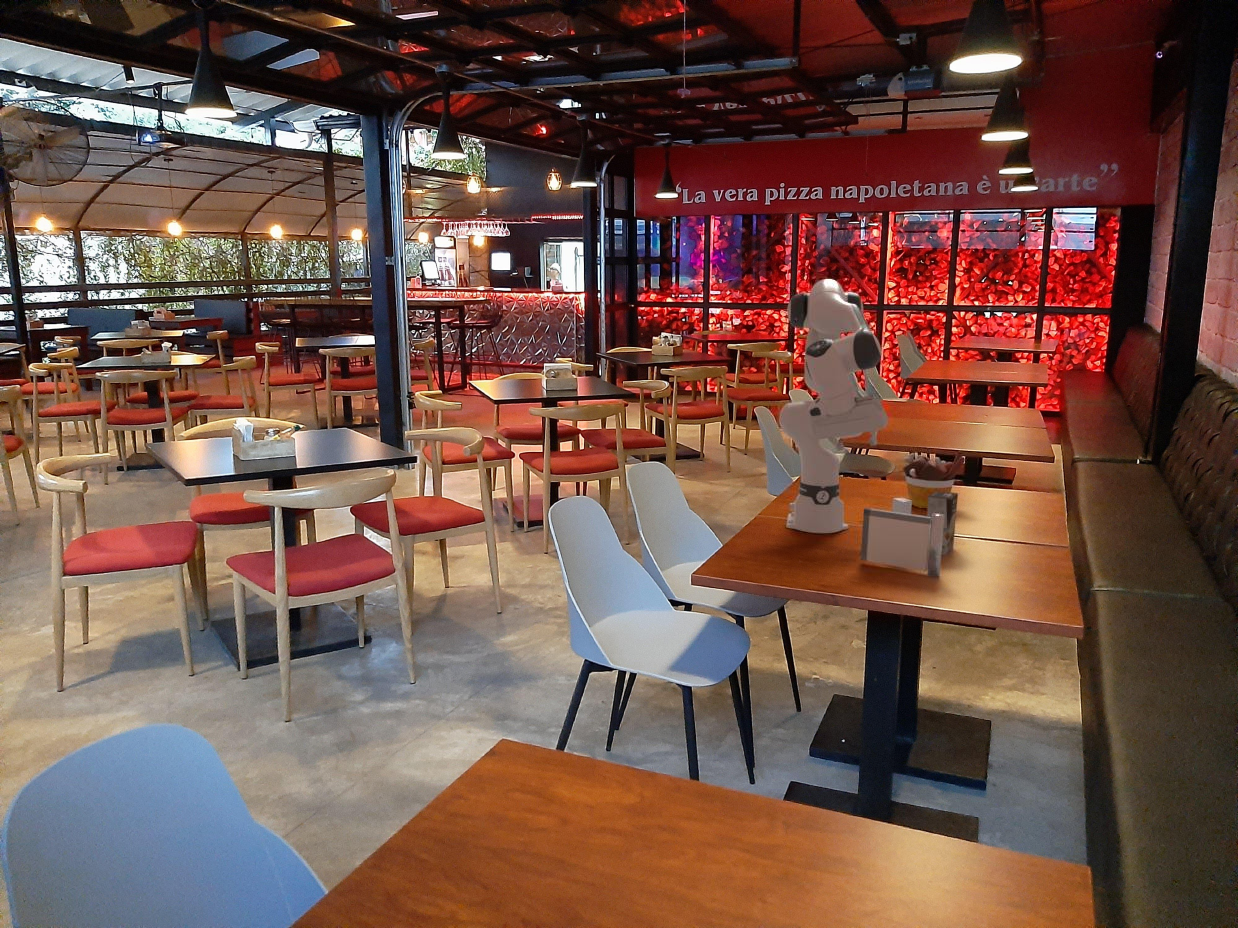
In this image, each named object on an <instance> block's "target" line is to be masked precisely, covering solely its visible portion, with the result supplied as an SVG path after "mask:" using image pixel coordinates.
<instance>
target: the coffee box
mask: <svg viewBox="0 0 1238 928" xmlns="http://www.w3.org/2000/svg"><path fill="white" fill-rule="evenodd" d="M958 493H959V492H958ZM958 493H957V492H952V491H951V492H940V491H935V492H934V493H932V494H931V495H929V496H928V508H927V509H926V510H927V513H926V516H927V517H931V519H932V514H935V513H936V514H943V515H944V526H943V539H942V551H941V556H947V555H948V554H949V553H950V552H951V551H952V550H953V549H954V544H955V532H956V521H957V509H958V500H959V499H958V497H959V494H958ZM930 532H931V528H930ZM929 544H930V541H929Z"/></svg>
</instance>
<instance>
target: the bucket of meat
mask: <svg viewBox="0 0 1238 928" xmlns="http://www.w3.org/2000/svg"><path fill="white" fill-rule="evenodd" d="M915 456H916V454H915V452H912V453H910V454H909V455H908V457H907V456H905V457H903V458H902V463H907V464H905V466H903V468H902V470H903V471H904V474H905V481H906V487H907V488H906V489H907V494H908V500H911V501H912V505H914V506H916V507H921V508H926V509H925V510H927V508H928V496H929V495H931V494H932V493H934V492H935V491H940V492H951V493H952V489H953V486H954V484H955V479H956V478H955V477H956V475H957V472H959V469H961V467H962V466H963V464H964V463H965V461H966V458H965V457H964V451H963V450H958V451H957V452H956V455H955V458H954V460H953V462H952V461H945V460H941V458H940V457H939V456H938V457H937V456H936V457H934V459H931V458H930V457H927V456H926V455H922V454H918V455H917V456H916V458H915ZM914 458H915V459H914ZM914 506H913V507H914ZM916 507H915V508H916ZM921 508H920V509H921Z"/></svg>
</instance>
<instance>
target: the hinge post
mask: <svg viewBox="0 0 1238 928" xmlns="http://www.w3.org/2000/svg"><path fill="white" fill-rule="evenodd" d="M943 526H944V515H943V514H936V513H935V514H932V519H931V532H930V544H929V554H928V566H927V571H926V575H927V577H930V578H940V577H941V575H940V574H941V573H940V572H941V563H942V555H941V551H942V539H943Z"/></svg>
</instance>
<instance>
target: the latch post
mask: <svg viewBox="0 0 1238 928" xmlns="http://www.w3.org/2000/svg"><path fill="white" fill-rule="evenodd" d="M912 507H913V506H912V501H911V500H909V499H907V498H904V497H895V498H893V499H892V508H891V509H892V511H891V512H898V513H905V514H912Z"/></svg>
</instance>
